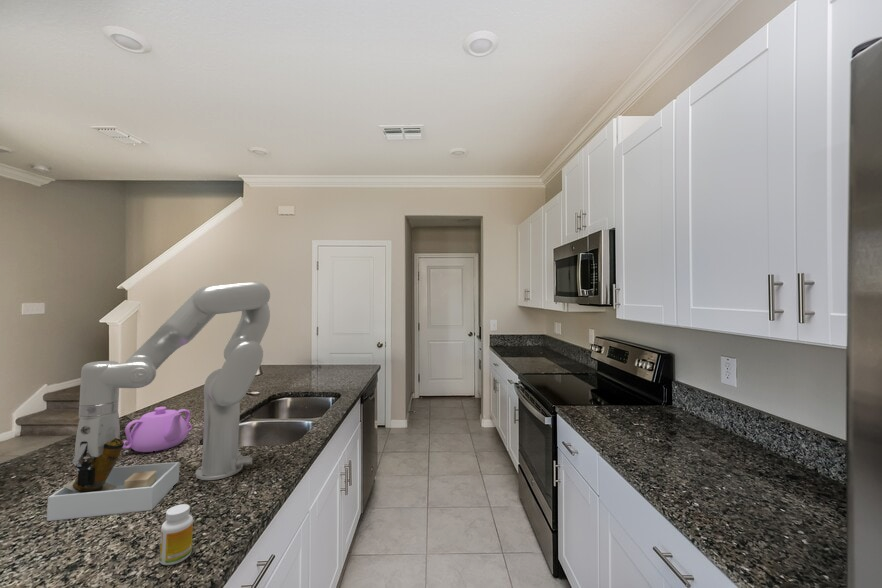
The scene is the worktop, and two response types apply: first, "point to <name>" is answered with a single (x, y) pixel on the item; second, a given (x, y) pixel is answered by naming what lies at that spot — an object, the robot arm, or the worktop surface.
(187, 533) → the supplement bottle
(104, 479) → the condiment
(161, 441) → the teapot
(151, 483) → the cube
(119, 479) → the tote
